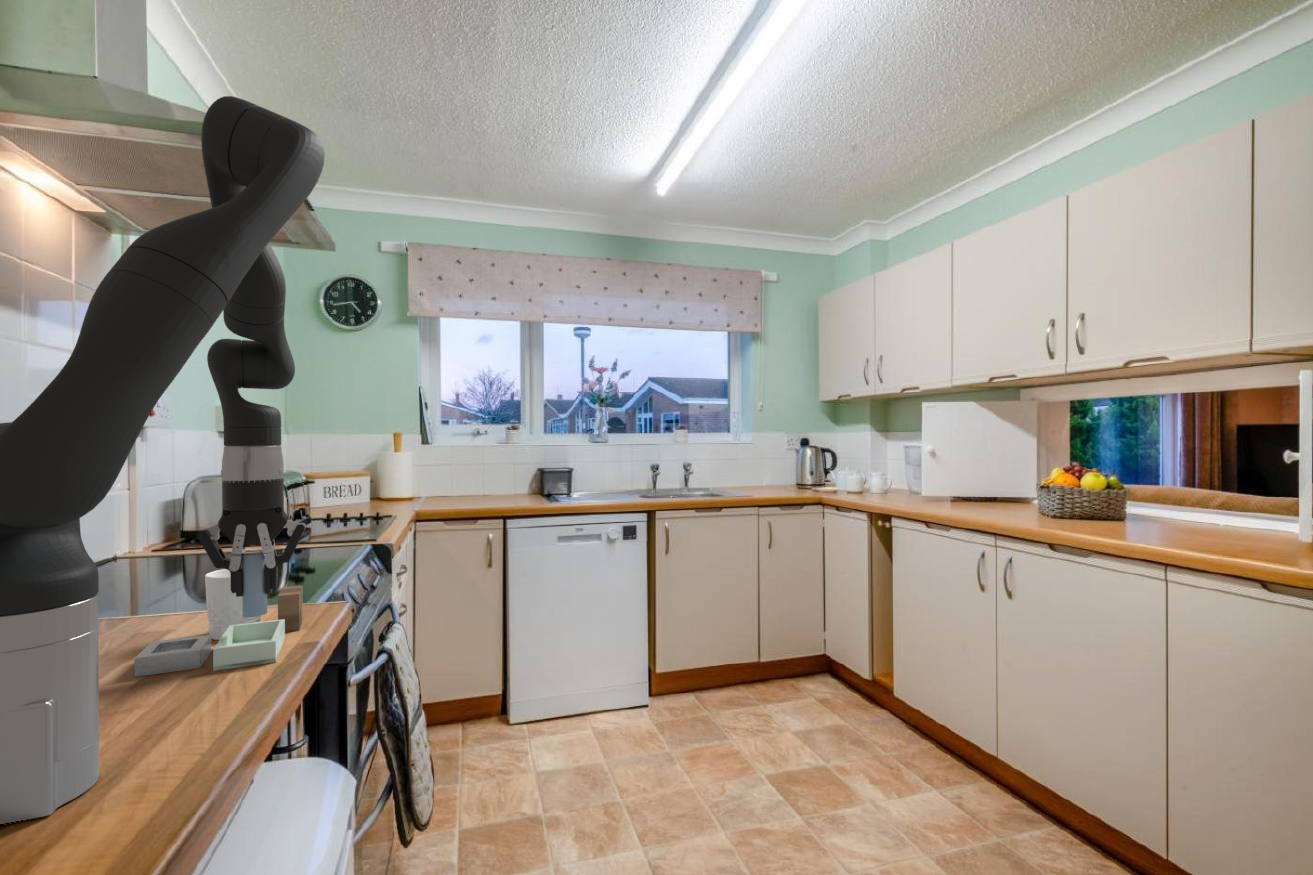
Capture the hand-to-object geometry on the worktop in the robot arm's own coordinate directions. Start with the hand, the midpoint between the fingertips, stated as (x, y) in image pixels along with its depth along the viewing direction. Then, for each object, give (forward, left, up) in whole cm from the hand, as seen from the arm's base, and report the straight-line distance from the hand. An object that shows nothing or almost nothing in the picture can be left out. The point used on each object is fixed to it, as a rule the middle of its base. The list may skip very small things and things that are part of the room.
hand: (254, 593), depth 88 cm
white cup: (+12, +4, -9) cm, 15 cm away
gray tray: (0, +9, -9) cm, 13 cm away
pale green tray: (0, 0, -9) cm, 9 cm away
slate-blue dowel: (0, 0, -3) cm, 3 cm away
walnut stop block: (+12, -3, -9) cm, 15 cm away
